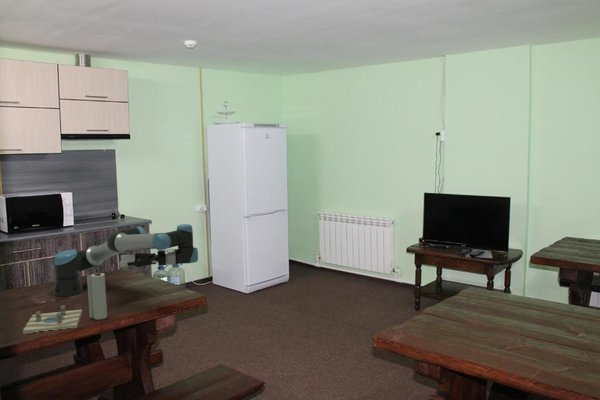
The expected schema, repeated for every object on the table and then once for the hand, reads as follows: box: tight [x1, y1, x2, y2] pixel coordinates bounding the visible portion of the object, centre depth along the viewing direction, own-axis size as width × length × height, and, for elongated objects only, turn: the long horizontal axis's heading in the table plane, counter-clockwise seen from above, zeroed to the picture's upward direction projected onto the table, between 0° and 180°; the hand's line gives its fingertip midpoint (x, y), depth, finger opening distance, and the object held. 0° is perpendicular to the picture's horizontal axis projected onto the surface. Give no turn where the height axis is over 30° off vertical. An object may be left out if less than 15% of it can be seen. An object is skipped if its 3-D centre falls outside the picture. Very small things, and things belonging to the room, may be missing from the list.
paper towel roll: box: [86, 272, 108, 320], centre depth 243 cm, size 7×6×21 cm
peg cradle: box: [22, 304, 83, 335], centre depth 238 cm, size 22×22×6 cm
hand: (120, 261), depth 244 cm, fingers open, 13 cm apart
